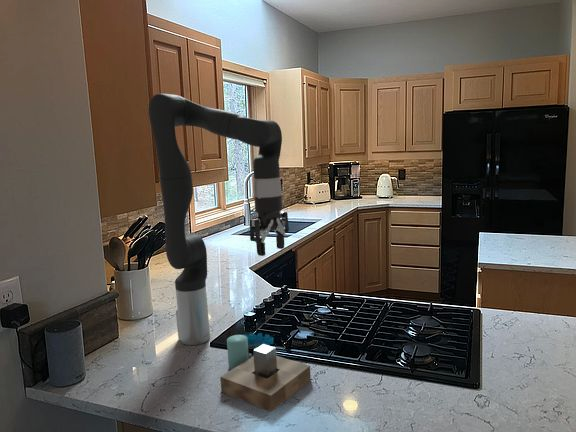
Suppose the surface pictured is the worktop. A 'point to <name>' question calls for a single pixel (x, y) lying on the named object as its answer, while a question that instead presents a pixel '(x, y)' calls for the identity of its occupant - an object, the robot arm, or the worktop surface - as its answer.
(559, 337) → the worktop surface
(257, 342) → the gear
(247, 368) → the socket block
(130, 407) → the worktop surface
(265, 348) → the square peg
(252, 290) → the worktop surface
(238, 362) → the round peg
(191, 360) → the worktop surface
